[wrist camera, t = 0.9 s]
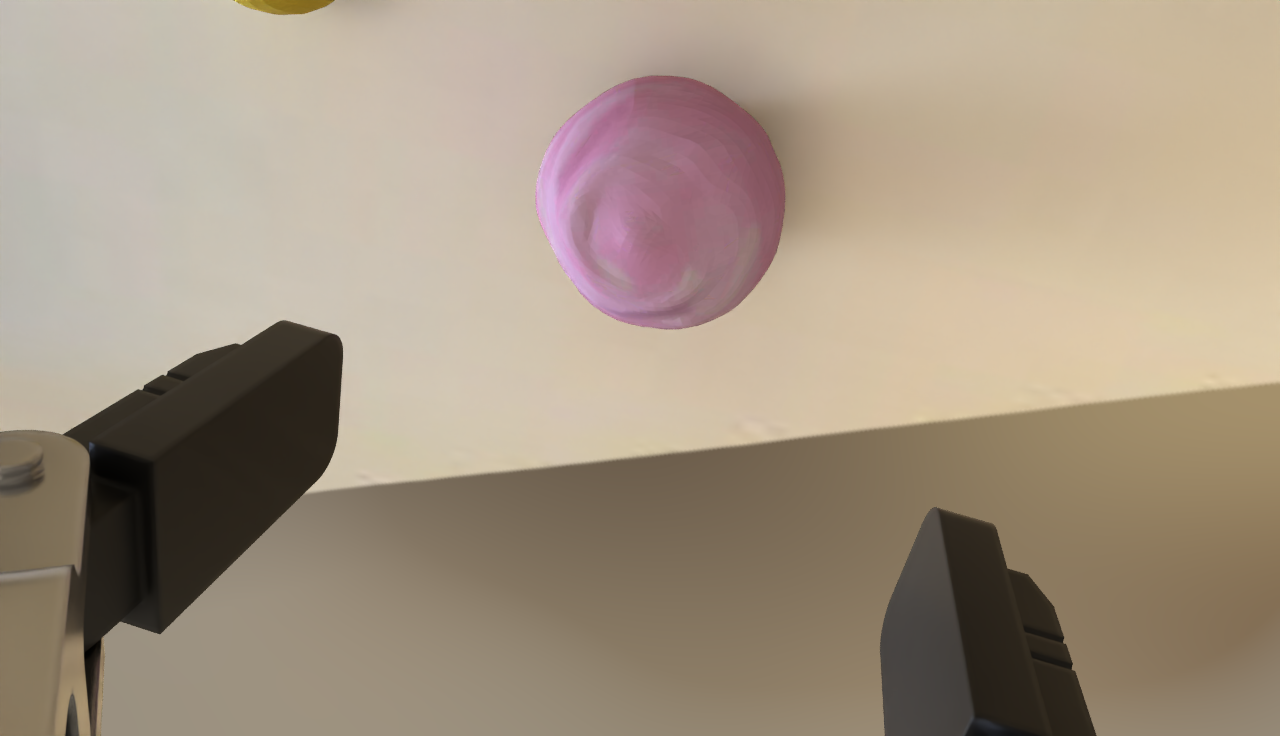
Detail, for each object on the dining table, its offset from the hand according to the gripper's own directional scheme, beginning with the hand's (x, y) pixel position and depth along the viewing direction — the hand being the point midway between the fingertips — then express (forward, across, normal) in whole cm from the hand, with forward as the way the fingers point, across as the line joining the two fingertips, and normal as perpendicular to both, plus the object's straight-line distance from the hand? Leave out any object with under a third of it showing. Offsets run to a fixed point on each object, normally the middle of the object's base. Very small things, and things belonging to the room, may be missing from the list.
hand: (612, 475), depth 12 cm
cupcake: (+28, +3, +2) cm, 28 cm away
